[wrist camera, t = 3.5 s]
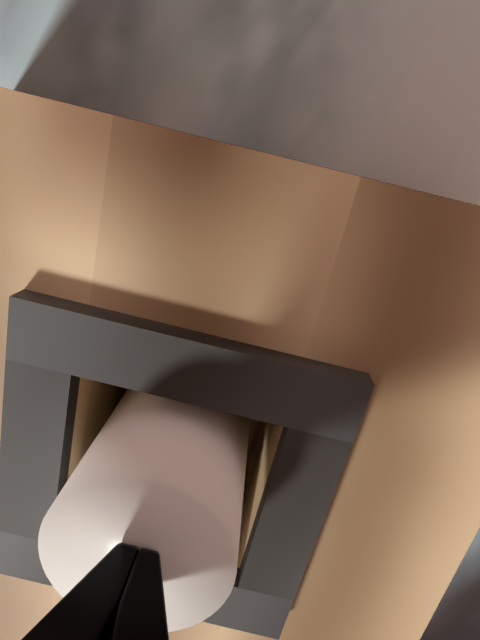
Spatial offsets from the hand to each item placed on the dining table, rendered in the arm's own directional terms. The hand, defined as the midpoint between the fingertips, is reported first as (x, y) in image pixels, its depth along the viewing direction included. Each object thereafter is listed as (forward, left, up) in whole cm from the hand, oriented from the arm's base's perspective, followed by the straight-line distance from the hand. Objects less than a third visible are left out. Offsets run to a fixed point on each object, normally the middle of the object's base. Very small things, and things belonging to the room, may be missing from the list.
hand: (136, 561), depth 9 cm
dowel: (0, 0, -6) cm, 6 cm away
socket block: (0, 0, -9) cm, 9 cm away
